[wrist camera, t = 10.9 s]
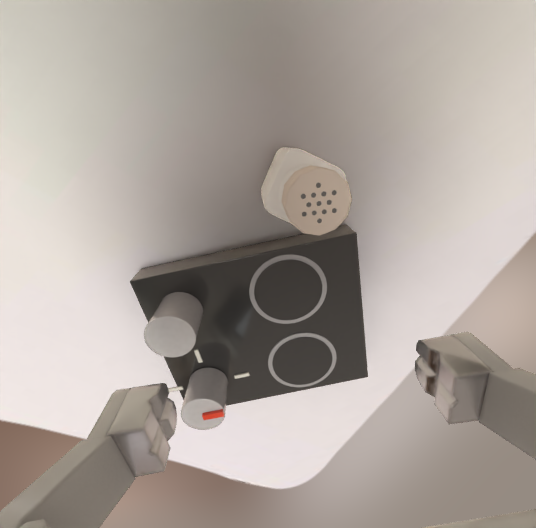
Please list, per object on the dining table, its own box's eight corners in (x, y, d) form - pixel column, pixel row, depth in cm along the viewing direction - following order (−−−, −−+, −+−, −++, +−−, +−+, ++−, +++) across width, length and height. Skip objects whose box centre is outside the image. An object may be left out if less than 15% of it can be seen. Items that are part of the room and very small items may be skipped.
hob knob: (195, 399, 27) (187, 437, 23) (184, 371, 25) (173, 407, 22) (231, 392, 27) (229, 429, 23) (222, 363, 25) (218, 398, 22)
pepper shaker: (257, 194, 22) (263, 225, 13) (278, 144, 21) (300, 142, 12) (302, 213, 23) (334, 255, 14) (325, 166, 22) (376, 180, 13)
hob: (187, 396, 30) (181, 419, 28) (130, 270, 24) (117, 284, 21) (359, 361, 30) (369, 381, 27) (346, 224, 24) (357, 233, 21)
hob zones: (199, 407, 27) (193, 442, 24) (146, 283, 22) (129, 307, 19) (339, 379, 27) (351, 410, 24) (321, 246, 21) (334, 264, 18)
